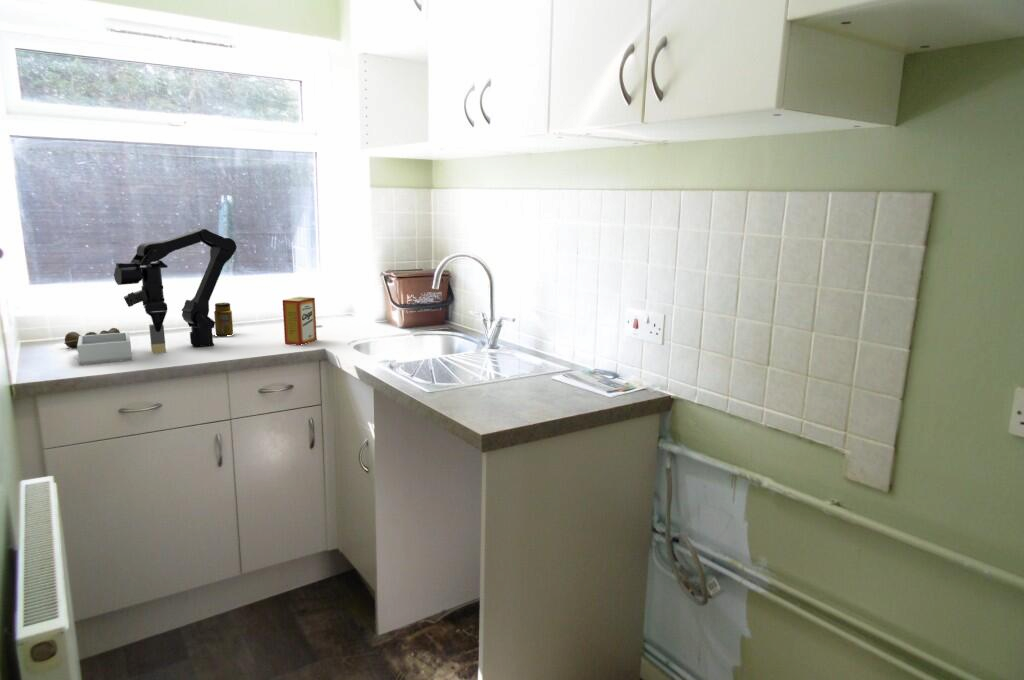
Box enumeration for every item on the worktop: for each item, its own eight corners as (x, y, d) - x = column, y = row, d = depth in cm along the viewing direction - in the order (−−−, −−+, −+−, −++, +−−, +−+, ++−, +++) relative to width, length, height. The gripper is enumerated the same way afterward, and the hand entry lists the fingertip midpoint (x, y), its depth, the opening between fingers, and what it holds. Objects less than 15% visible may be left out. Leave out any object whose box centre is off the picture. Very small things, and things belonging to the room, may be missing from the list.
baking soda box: (300, 345, 235) (298, 300, 232) (285, 344, 237) (282, 299, 234) (316, 340, 244) (314, 296, 241) (301, 339, 246) (299, 295, 243)
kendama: (127, 343, 239) (76, 352, 221) (107, 342, 242) (54, 351, 224) (126, 326, 238) (74, 334, 220) (105, 325, 241) (52, 333, 223)
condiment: (236, 333, 257) (233, 301, 255) (232, 337, 249) (229, 305, 247) (215, 333, 256) (213, 302, 253) (211, 337, 247) (208, 305, 245)
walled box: (130, 349, 226) (128, 332, 225) (132, 360, 211) (130, 341, 209) (81, 353, 219) (79, 335, 218) (79, 365, 204) (77, 345, 202)
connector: (165, 350, 226) (162, 323, 224) (166, 352, 222) (163, 325, 221) (151, 351, 224) (149, 324, 222) (152, 353, 220) (149, 326, 219)
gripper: (123, 280, 222) (128, 327, 225) (124, 286, 207) (130, 336, 210) (160, 279, 228) (165, 324, 231) (165, 284, 212) (169, 333, 215)
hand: (157, 329), depth 222 cm, fingers open, 9 cm apart
